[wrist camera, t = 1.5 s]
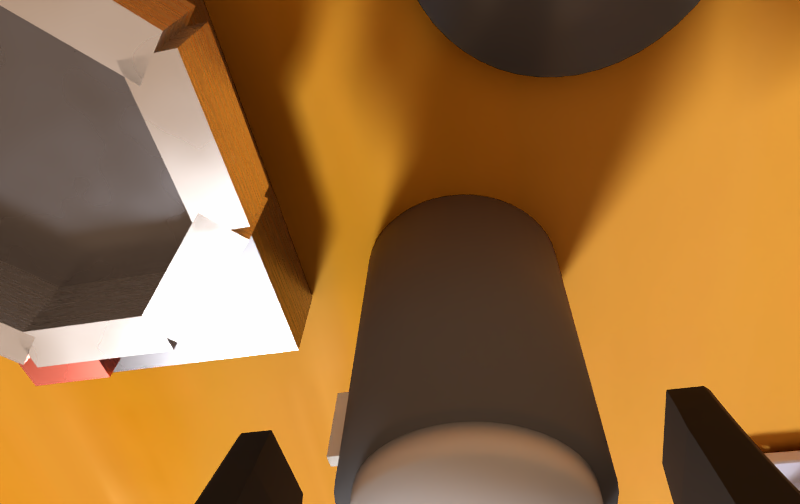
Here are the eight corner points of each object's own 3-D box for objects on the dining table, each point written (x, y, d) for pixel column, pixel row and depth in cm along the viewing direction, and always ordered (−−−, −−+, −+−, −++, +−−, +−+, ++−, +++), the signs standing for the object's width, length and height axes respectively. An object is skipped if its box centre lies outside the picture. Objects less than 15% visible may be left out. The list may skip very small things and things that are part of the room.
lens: (550, 179, 14) (629, 427, 8) (562, 333, 17) (627, 601, 11) (334, 213, 15) (269, 458, 9) (378, 355, 17) (349, 614, 12)
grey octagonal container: (185, -167, 11) (91, -163, 8) (339, 293, 16) (318, 394, 13) (-220, -59, 12) (-431, -21, 9) (53, 331, 18) (-22, 431, 15)
